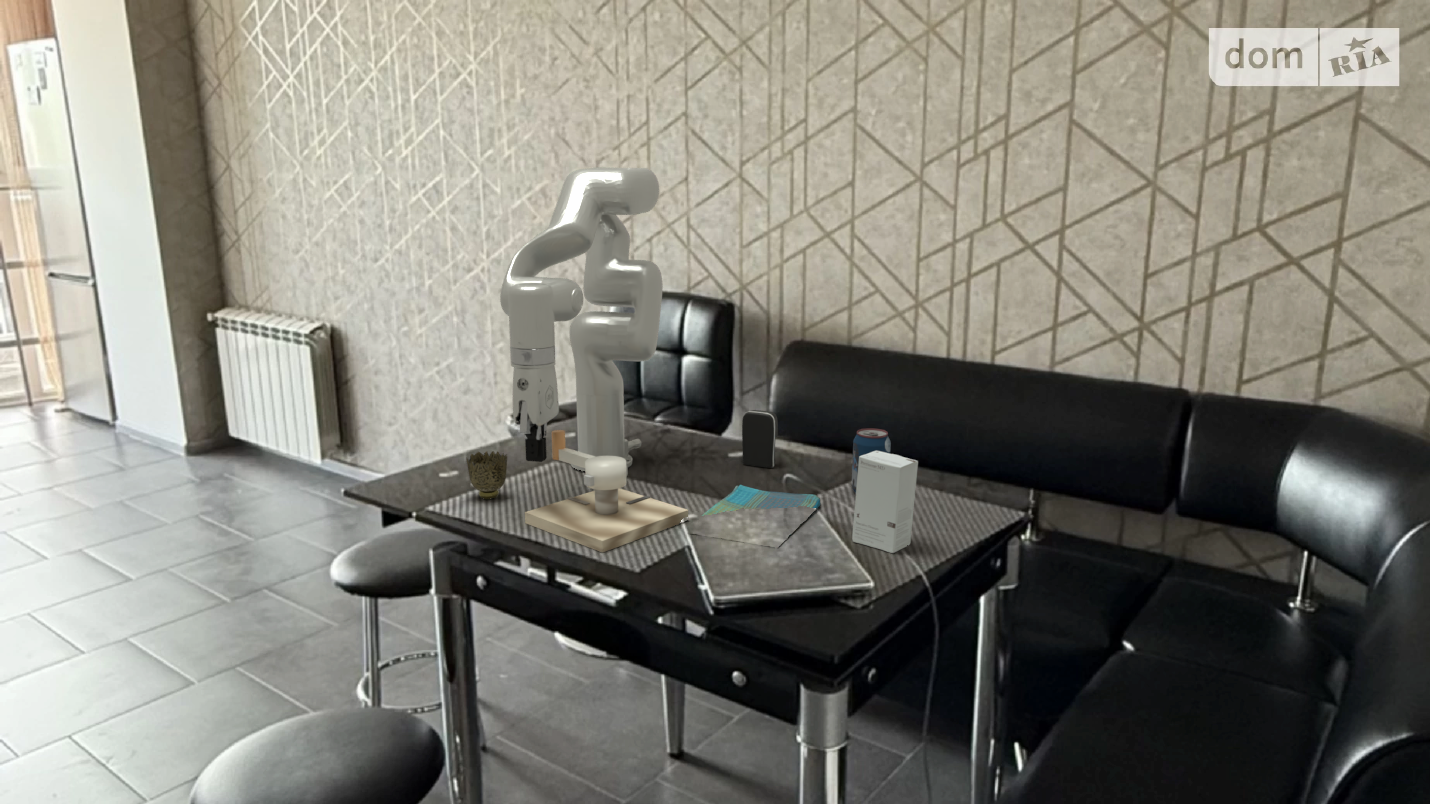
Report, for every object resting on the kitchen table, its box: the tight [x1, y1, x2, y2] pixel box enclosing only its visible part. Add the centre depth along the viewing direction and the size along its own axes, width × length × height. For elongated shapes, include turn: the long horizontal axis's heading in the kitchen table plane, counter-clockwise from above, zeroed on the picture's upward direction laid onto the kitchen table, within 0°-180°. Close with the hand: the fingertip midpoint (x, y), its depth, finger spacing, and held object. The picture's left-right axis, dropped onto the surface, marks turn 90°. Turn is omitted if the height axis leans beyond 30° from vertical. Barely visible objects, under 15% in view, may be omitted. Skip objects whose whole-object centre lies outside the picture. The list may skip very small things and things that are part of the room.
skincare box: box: [851, 451, 919, 554], centre depth 170 cm, size 8×6×15 cm
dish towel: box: [701, 484, 821, 516], centre depth 183 cm, size 17×23×2 cm
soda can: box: [851, 427, 892, 495], centre depth 195 cm, size 7×7×12 cm
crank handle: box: [551, 429, 629, 490], centre depth 182 cm, size 9×17×7 cm, turn 48°
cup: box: [465, 450, 508, 500], centre depth 193 cm, size 8×7×8 cm
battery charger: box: [741, 409, 779, 469], centre depth 213 cm, size 7×4×11 cm, turn 66°
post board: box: [524, 488, 689, 553], centre depth 180 cm, size 20×20×7 cm
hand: (536, 459), depth 181 cm, fingers closed
